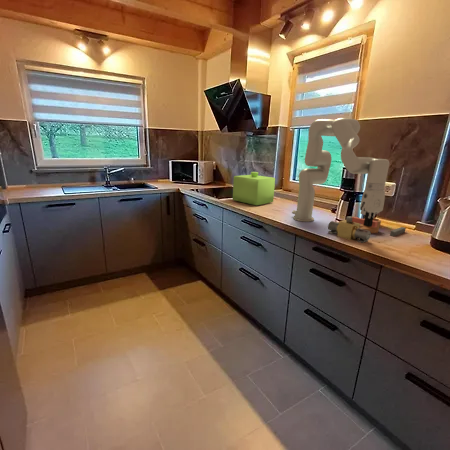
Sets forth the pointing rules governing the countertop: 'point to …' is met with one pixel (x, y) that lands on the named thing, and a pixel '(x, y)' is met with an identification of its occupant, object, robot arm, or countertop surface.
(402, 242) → the countertop surface
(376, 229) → the small saucepan
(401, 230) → the block
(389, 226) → the countertop surface
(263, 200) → the canister
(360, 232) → the valve body
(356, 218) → the lever
